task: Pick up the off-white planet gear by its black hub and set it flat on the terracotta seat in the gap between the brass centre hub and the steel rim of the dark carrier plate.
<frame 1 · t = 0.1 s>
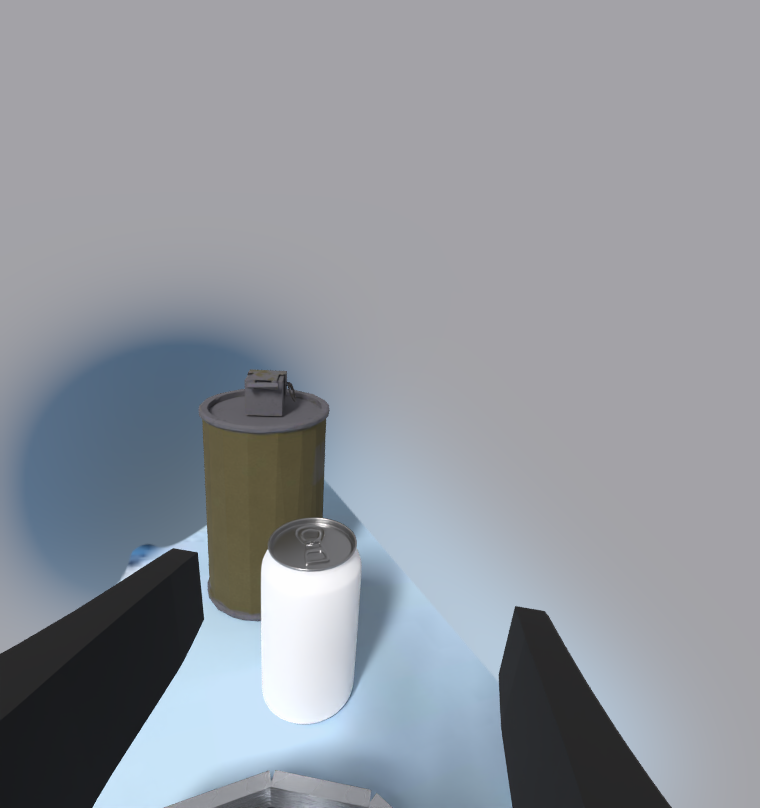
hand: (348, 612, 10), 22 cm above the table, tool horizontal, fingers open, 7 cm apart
canister: (267, 580, 42), on the table
can: (308, 686, 32), on the table
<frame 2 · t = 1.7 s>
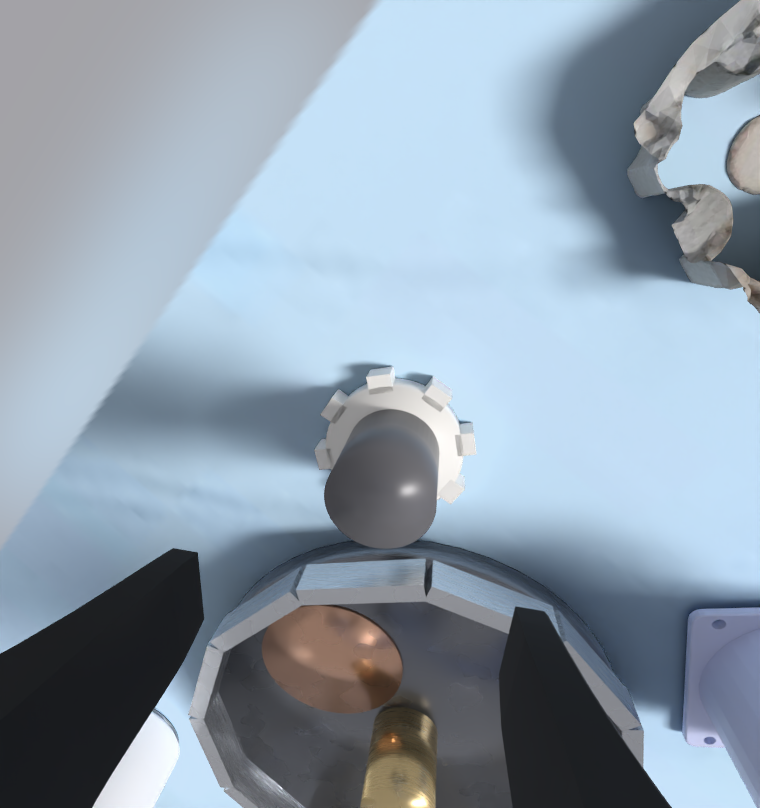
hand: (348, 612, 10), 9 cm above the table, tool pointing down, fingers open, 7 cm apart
carrier: (408, 700, 24), on the table
can: (137, 727, 28), on the table
planet gear: (395, 441, 18), on the table
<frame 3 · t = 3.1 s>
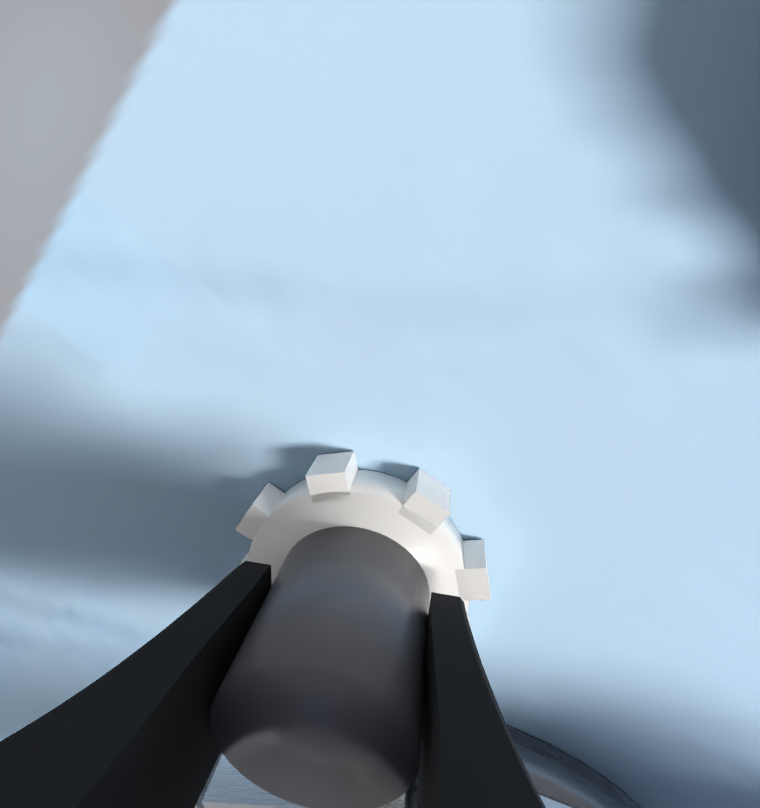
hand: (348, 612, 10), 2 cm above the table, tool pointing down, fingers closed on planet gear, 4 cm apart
planet gear: (361, 561, 12), on the table, touching gripper
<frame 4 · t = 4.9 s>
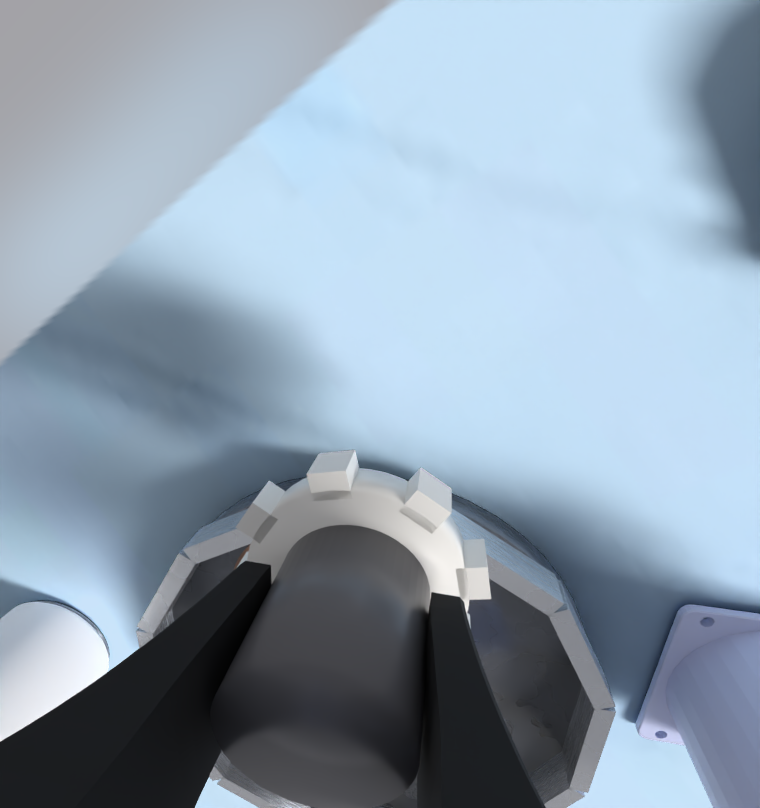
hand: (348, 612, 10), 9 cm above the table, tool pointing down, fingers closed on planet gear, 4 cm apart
carrier: (369, 652, 23), on the table
can: (65, 636, 26), on the table
planet gear: (362, 559, 12), point 7 cm above the table, touching gripper
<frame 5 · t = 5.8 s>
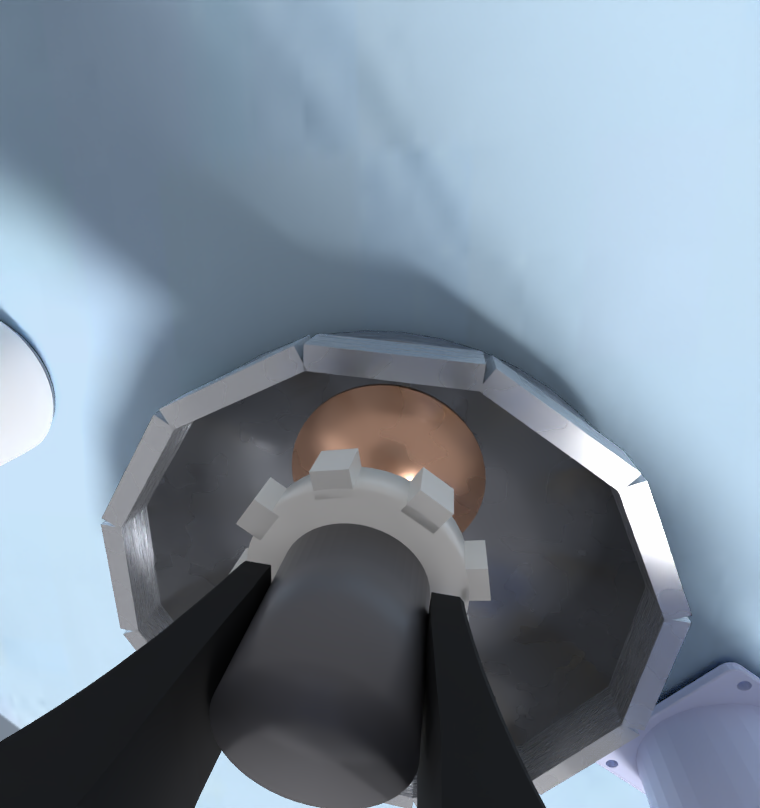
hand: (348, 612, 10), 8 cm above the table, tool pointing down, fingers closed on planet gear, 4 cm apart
carrier: (381, 569, 19), on the table
planet gear: (362, 558, 12), point 6 cm above the table, touching gripper
when the fingers open (4 cm above the table, at t = 6.7 s): planet gear stays where it is, resting on carrier.
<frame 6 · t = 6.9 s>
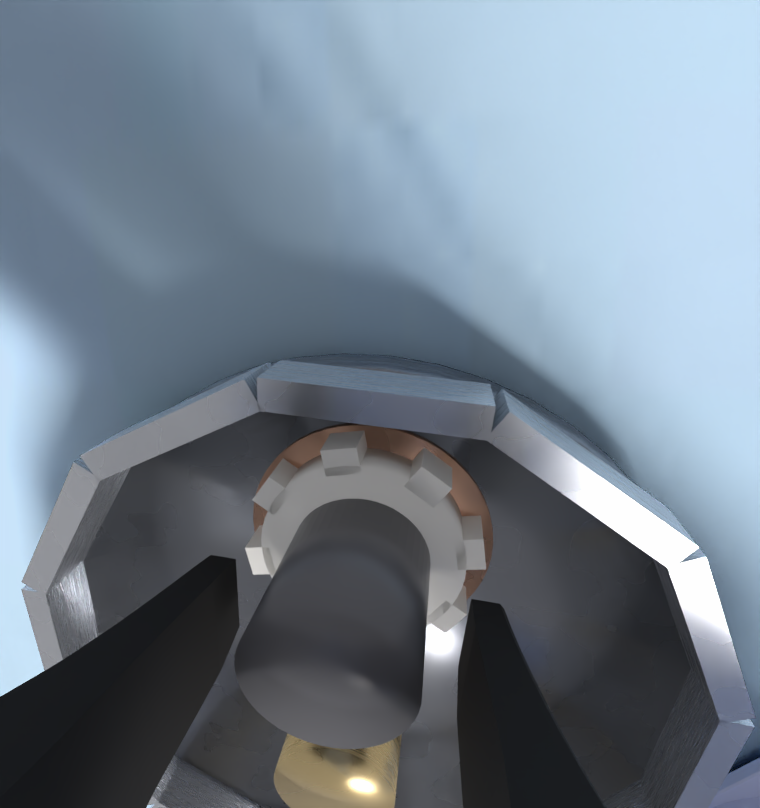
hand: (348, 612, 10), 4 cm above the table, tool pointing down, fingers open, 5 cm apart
carrier: (367, 631, 16), on the table
planet gear: (367, 534, 13), point 2 cm above the table, touching carrier
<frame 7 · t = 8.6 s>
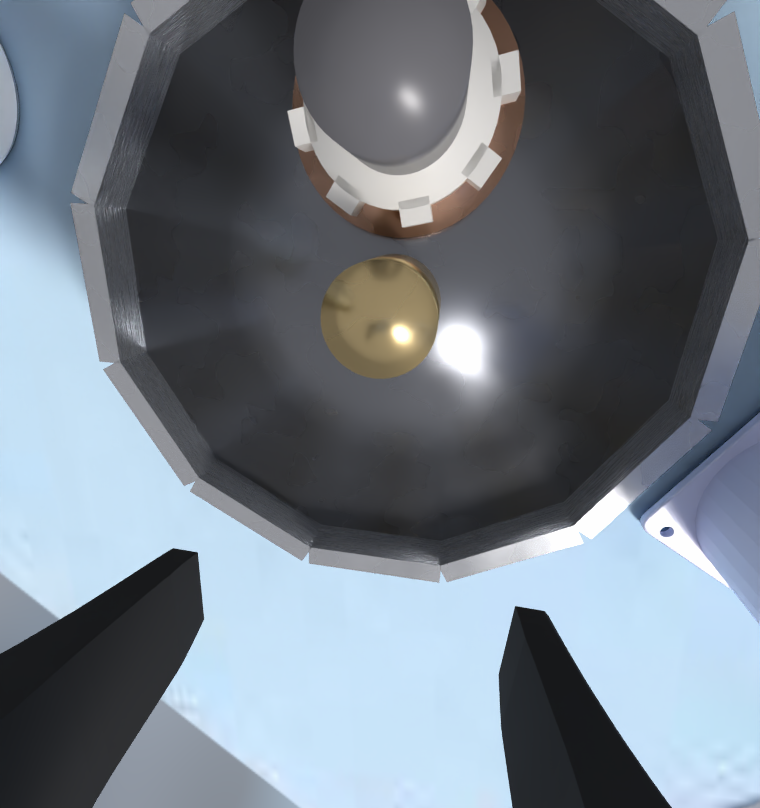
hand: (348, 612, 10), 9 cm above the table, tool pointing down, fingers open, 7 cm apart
carrier: (398, 297, 17), on the table
planet gear: (403, 110, 13), point 2 cm above the table, touching carrier
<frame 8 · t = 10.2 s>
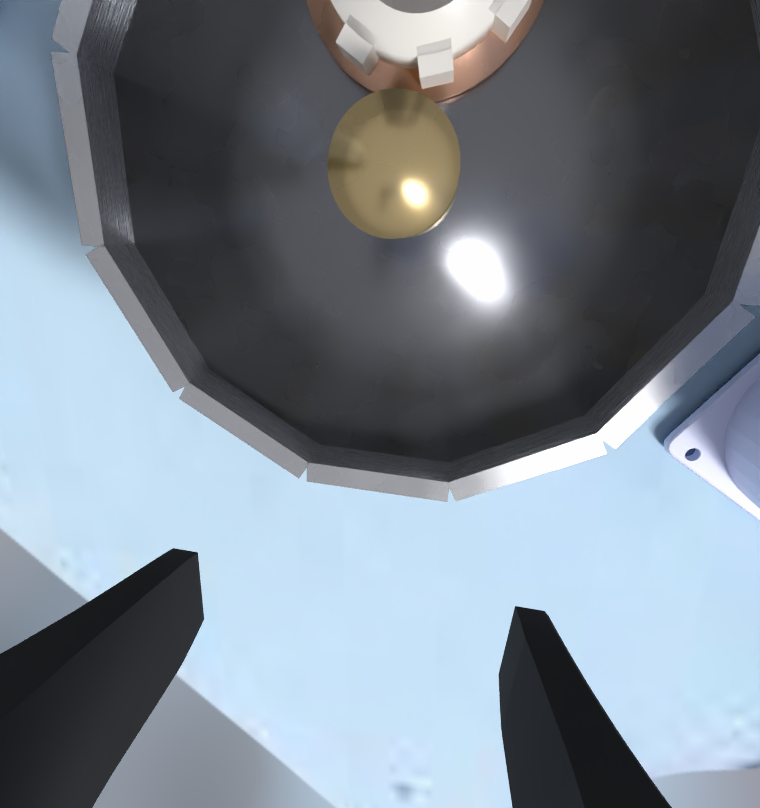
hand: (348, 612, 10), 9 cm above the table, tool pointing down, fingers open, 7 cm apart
carrier: (410, 187, 15), on the table
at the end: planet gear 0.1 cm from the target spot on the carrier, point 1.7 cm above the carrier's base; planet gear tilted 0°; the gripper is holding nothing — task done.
